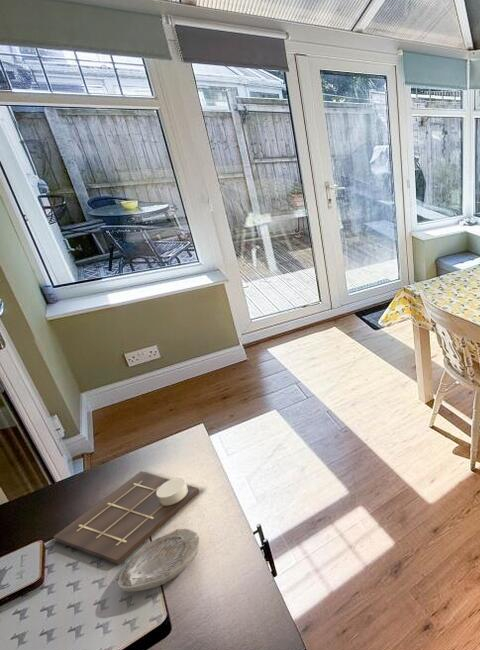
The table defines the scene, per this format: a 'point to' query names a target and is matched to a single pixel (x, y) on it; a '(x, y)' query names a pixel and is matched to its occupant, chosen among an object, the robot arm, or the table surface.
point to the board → (122, 519)
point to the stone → (172, 491)
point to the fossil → (159, 560)
